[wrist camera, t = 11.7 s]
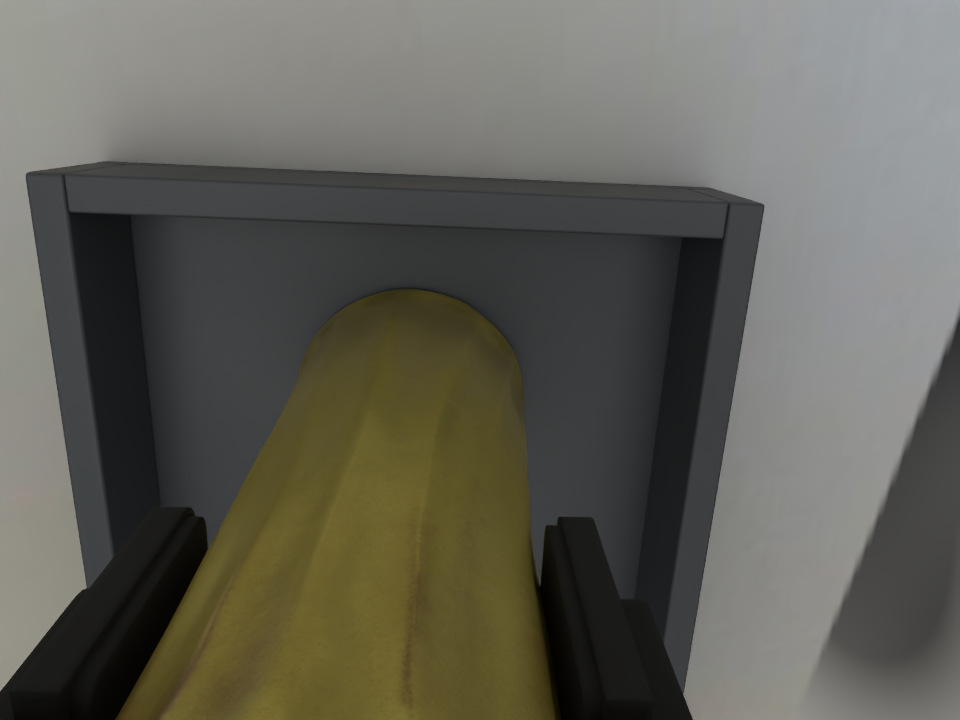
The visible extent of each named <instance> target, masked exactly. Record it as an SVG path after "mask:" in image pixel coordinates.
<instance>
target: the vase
mask: <svg viewBox="0 0 960 720" xmlns="http://www.w3.org/2000/svg"><path fill="white" fill-rule="evenodd" d="M523 410H524V389H523V382H522V377H521V372H520V368H519V364H518V361H517V358H516V356H515V353H514V351H513V350H512V348H511V346H510V345H509V343H508V342H507V340H506V339H505V338H504V336H503V335H502V334H501V333H500V332H499V330H498V329H497V328H496V327H495V326H494V325H493V324H492V323H491V322H490V321H488V320H487V319H486V318H485V317H484V316H482V315H481V314H480V313H479V312H477V311H476V310H475V309H473V308H472V307H471V306H469V305H468V304H466V303H464V302H462V301H460V300H457V299H455V298H452V297H449V296H446V295H444V294H440V293H435V292H431V291H426V290H419V289H396V290H389V291H384V292H379V293H376V294H373V295H370V296H367V297H365V298H362V299H359V300H357V301H355V302H353V303H351V304H349V305H348V306H346V307H345V308H343V309H341V310H340V311H339V312H337V313H336V314H335V315H334V316H333V317H331V318H330V319H329V320H328V321H327V322H326V323H325V324H324V326H323V327H322V328H321V329H320V330H319V331H318V333H317V334H316V336H315V337H314V338H313V340H312V342H311V344H310V345H309V347H308V349H307V351H306V354H305V356H304V358H303V360H302V363H301V365H300V368H299V374H298V379H297V382H296V384H295V386H294V388H293V391H292V393H291V395H290V397H289V399H288V401H287V403H286V405H285V407H284V409H283V411H282V413H281V415H280V417H279V419H278V421H277V423H276V425H275V427H274V429H273V431H272V432H271V434H270V436H269V437H268V439H267V441H266V443H265V444H264V446H263V448H262V450H261V452H260V453H259V455H258V457H257V459H256V461H255V462H254V464H253V466H252V468H251V470H250V472H249V474H248V475H247V477H246V479H245V481H244V483H243V485H242V487H241V489H240V490H239V492H238V494H237V496H236V498H235V500H234V502H233V504H232V505H231V507H230V509H229V511H228V513H227V515H226V517H225V519H224V521H223V522H222V524H221V526H220V528H219V530H218V532H217V534H216V536H215V538H214V539H213V541H212V543H211V545H210V547H209V549H208V550H207V552H206V554H205V556H204V558H203V560H202V562H201V564H200V566H199V568H198V570H197V571H196V573H195V575H194V577H193V579H192V581H191V583H190V585H189V587H188V589H187V591H186V593H185V595H184V597H183V598H182V600H181V602H180V604H179V606H178V608H177V610H176V612H175V614H174V616H173V618H172V619H171V621H170V623H169V625H168V627H167V629H166V631H165V633H164V634H163V636H162V638H161V640H160V642H159V643H158V645H157V647H156V649H155V651H154V652H153V654H152V656H151V658H150V660H149V661H148V663H147V665H146V667H145V668H144V670H143V672H142V674H141V675H140V677H139V679H138V681H137V682H136V684H135V686H134V688H133V689H132V691H131V693H130V695H129V696H128V698H127V700H126V702H125V703H124V705H123V707H122V709H121V710H120V712H119V714H118V716H117V717H116V719H115V720H562V719H561V713H560V706H559V700H558V693H557V686H556V679H555V672H554V666H553V659H552V653H551V647H550V641H549V635H548V629H547V623H546V618H545V613H544V608H543V603H542V597H541V591H540V582H539V576H538V571H537V565H536V560H535V555H534V550H533V544H532V532H531V520H530V504H529V485H528V474H527V449H526V435H525V426H524V412H523Z"/></svg>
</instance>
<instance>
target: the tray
mask: <svg viewBox="0 0 960 720" xmlns="http://www.w3.org/2000/svg"><path fill="white" fill-rule="evenodd" d="M26 182H27V189H28V196H29V203H30V209H31V216H32V223H33V229H34V236H35V243H36V249H37V256H38V263H39V270H40V276H41V283H42V290H43V296H44V303H45V310H46V317H47V323H48V330H49V337H50V343H51V350H52V357H53V363H54V370H55V377H56V384H57V390H58V397H59V404H60V410H61V417H62V424H63V430H64V437H65V444H66V451H67V457H68V464H69V471H70V477H71V484H72V491H73V498H74V504H75V511H76V518H77V524H78V531H79V538H80V544H81V551H82V558H83V565H84V571H85V578H86V585H87V588H90V587H91V585H92V584H93V583H94V582H95V580H96V579H97V578H98V576H99V575H100V574H101V573H102V571H103V570H104V569H105V567H106V566H107V565H108V564H109V562H110V561H111V560H112V558H113V557H114V556H115V555H116V553H117V552H118V551H119V549H120V548H121V547H122V546H123V544H124V543H125V542H126V540H127V539H128V538H129V537H130V535H131V534H132V533H133V531H134V530H135V529H136V528H137V526H138V525H139V524H140V522H141V521H142V520H143V519H144V517H145V516H146V515H147V513H148V512H149V511H150V510H151V509H152V508H153V507H156V506H163V507H191V508H192V509H193V511H194V513H195V516H202V517H204V519H205V521H206V529H207V541H208V549H209V547H210V545H211V543H212V541H213V539H214V538H215V536H216V534H217V532H218V530H219V528H220V526H221V524H222V522H223V521H224V519H225V517H226V515H227V513H228V511H229V509H230V507H231V505H232V504H233V502H234V500H235V498H236V496H237V494H238V492H239V490H240V489H241V487H242V485H243V483H244V481H245V479H246V477H247V475H248V474H249V472H250V470H251V468H252V466H253V464H254V462H255V461H256V459H257V457H258V455H259V453H260V452H261V450H262V448H263V446H264V444H265V443H266V441H267V439H268V437H269V436H270V434H271V432H272V431H273V429H274V427H275V425H276V423H277V421H278V419H279V417H280V415H281V413H282V411H283V409H284V407H285V405H286V403H287V401H288V399H289V397H290V395H291V393H292V391H293V388H294V386H295V384H296V382H297V379H298V374H299V368H300V365H301V363H302V360H303V358H304V356H305V354H306V351H307V349H308V347H309V345H310V344H311V342H312V340H313V338H314V337H315V336H316V334H317V333H318V331H319V330H320V329H321V328H322V327H323V326H324V324H325V323H326V322H327V321H328V320H329V319H330V318H331V317H333V316H334V315H335V314H336V313H337V312H339V311H340V310H341V309H343V308H345V307H346V306H348V305H349V304H351V303H353V302H355V301H357V300H359V299H362V298H365V297H367V296H370V295H373V294H376V293H379V292H384V291H389V290H396V289H419V290H426V291H431V292H435V293H440V294H444V295H446V296H449V297H452V298H455V299H457V300H460V301H462V302H464V303H466V304H468V305H469V306H471V307H472V308H473V309H475V310H476V311H477V312H479V313H480V314H481V315H482V316H484V317H485V318H486V319H487V320H488V321H490V322H491V323H492V324H493V325H494V326H495V327H496V328H497V329H498V330H499V332H500V333H501V334H502V335H503V336H504V338H505V339H506V340H507V342H508V343H509V345H510V346H511V348H512V350H513V351H514V353H515V356H516V358H517V361H518V364H519V368H520V372H521V377H522V382H523V389H524V410H523V412H524V426H525V435H526V449H527V474H528V485H529V504H530V520H531V532H532V544H533V550H534V555H535V560H536V565H537V571H538V576H539V582H540V583H541V571H542V559H543V547H544V535H545V528H546V525H557V521H558V518H559V516H560V517H592V518H593V519H594V521H595V524H596V527H597V530H598V533H599V536H600V539H601V543H602V546H603V549H604V552H605V555H606V558H607V561H608V564H609V567H610V570H611V573H612V576H613V579H614V582H615V585H616V588H617V591H618V594H619V597H620V599H643V600H645V601H646V602H647V604H648V606H649V607H650V610H651V612H652V615H653V618H654V620H655V623H656V625H657V628H658V631H659V633H660V636H661V638H662V641H663V644H664V646H665V649H666V651H667V654H668V657H669V659H670V662H671V664H672V667H673V670H674V672H675V675H676V677H677V680H678V683H679V685H680V688H681V690H682V693H684V687H685V681H686V675H687V669H688V663H689V657H690V651H691V645H692V639H693V633H694V627H695V621H696V615H697V609H698V603H699V597H700V591H701V585H702V579H703V573H704V567H705V561H706V555H707V549H708V543H709V537H710V531H711V525H712V519H713V513H714V507H715V501H716V495H717V488H718V482H719V476H720V470H721V464H722V458H723V452H724V446H725V440H726V434H727V428H728V422H729V416H730V410H731V404H732V398H733V392H734V386H735V380H736V374H737V368H738V362H739V356H740V350H741V344H742V338H743V332H744V326H745V320H746V314H747V308H748V302H749V296H750V290H751V284H752V278H753V272H754V266H755V260H756V254H757V248H758V242H759V236H760V230H761V224H762V218H763V212H764V205H763V204H761V203H758V202H755V201H752V200H748V199H745V198H742V197H738V196H735V195H732V194H728V193H725V192H721V191H718V190H715V189H712V188H701V187H678V186H655V185H632V184H609V183H586V182H563V181H541V180H518V179H495V178H472V177H449V176H426V175H403V174H380V173H357V172H334V171H311V170H288V169H265V168H242V167H219V166H196V165H173V164H150V163H127V162H98V163H91V164H84V165H77V166H70V167H62V168H55V169H48V170H40V171H33V172H29V173H27V174H26Z"/></svg>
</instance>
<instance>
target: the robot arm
mask: <svg viewBox="0 0 960 720" xmlns="http://www.w3.org/2000/svg"><path fill="white" fill-rule="evenodd" d="M207 550H208V541H207V529H206V521H205V519H204V517H202V516H195V513H194V511H193V509H192V508H191V507H163V506H156V507H153V508H152V509H151V510H150V511H149V512H148V513H147V515H146V516H145V517H144V519H143V520H142V521H141V522H140V524H139V525H138V526H137V528H136V529H135V530H134V531H133V533H132V534H131V535H130V537H129V538H128V539H127V540H126V542H125V543H124V544H123V546H122V547H121V548H120V549H119V551H118V552H117V553H116V555H115V556H114V557H113V558H112V560H111V561H110V562H109V564H108V565H107V566H106V567H105V569H104V570H103V571H102V573H101V574H100V575H99V576H98V578H97V579H96V580H95V582H94V583H93V584H92V585H91V587H90V588H87V589H84V590H82V591H81V592H80V593H79V594H78V595H77V596H76V597H75V598H74V599H73V601H72V602H71V603H70V604H69V606H68V607H67V608H66V609H65V611H64V612H63V613H62V615H61V616H60V617H59V618H58V620H57V621H56V622H55V623H54V625H53V626H52V627H51V628H50V630H49V631H48V632H47V633H46V635H45V636H44V637H43V638H42V640H41V641H40V642H39V644H38V645H37V646H36V647H35V649H34V650H33V651H32V652H31V654H30V655H29V656H28V657H27V659H26V660H25V661H24V662H23V664H22V665H21V666H20V668H19V669H18V670H17V671H16V673H15V674H14V675H13V676H12V678H11V679H10V680H9V681H8V683H7V684H6V685H5V686H4V688H3V689H2V690H1V691H0V720H115V719H116V717H117V716H118V714H119V712H120V710H121V709H122V707H123V705H124V703H125V702H126V700H127V698H128V696H129V695H130V693H131V691H132V689H133V688H134V686H135V684H136V682H137V681H138V679H139V677H140V675H141V674H142V672H143V670H144V668H145V667H146V665H147V663H148V661H149V660H150V658H151V656H152V654H153V652H154V651H155V649H156V647H157V645H158V643H159V642H160V640H161V638H162V636H163V634H164V633H165V631H166V629H167V627H168V625H169V623H170V621H171V619H172V618H173V616H174V614H175V612H176V610H177V608H178V606H179V604H180V602H181V600H182V598H183V597H184V595H185V593H186V591H187V589H188V587H189V585H190V583H191V581H192V579H193V577H194V575H195V573H196V571H197V570H198V568H199V566H200V564H201V562H202V560H203V558H204V556H205V554H206V552H207ZM540 591H541V597H542V603H543V608H544V613H545V618H546V623H547V629H548V635H549V641H550V647H551V653H552V659H553V666H554V672H555V679H556V686H557V693H558V700H559V706H560V713H561V719H562V720H693V719H692V717H691V714H690V711H689V709H688V706H687V704H686V701H685V698H684V696H683V693H682V690H681V688H680V685H679V683H678V680H677V677H676V675H675V672H674V670H673V667H672V664H671V662H670V659H669V657H668V654H667V651H666V649H665V646H664V644H663V641H662V638H661V636H660V633H659V631H658V628H657V625H656V623H655V620H654V618H653V615H652V612H651V610H650V607H649V606H648V604H647V602H646V601H645V600H643V599H620V597H619V594H618V591H617V588H616V585H615V582H614V579H613V576H612V573H611V570H610V567H609V564H608V561H607V558H606V555H605V552H604V549H603V546H602V543H601V539H600V536H599V533H598V530H597V527H596V524H595V521H594V519H593V518H592V517H560V516H559V518H558V521H557V525H546V528H545V535H544V547H543V559H542V571H541V583H540Z"/></svg>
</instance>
